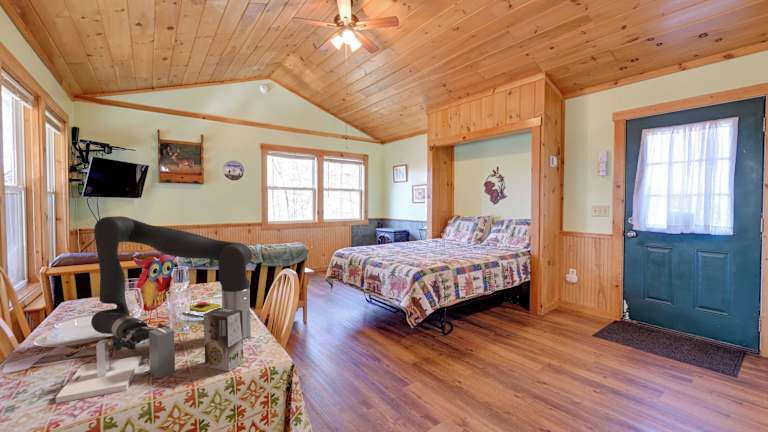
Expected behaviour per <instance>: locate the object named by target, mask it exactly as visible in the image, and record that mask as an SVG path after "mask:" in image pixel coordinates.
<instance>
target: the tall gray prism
mask: <svg viewBox="0 0 768 432" xmlns="http://www.w3.org/2000/svg"><path fill="white" fill-rule="evenodd" d="M148 343H149V348H148V349H149V350H148V351H149V372H150V374H151V375H153V376H155V377H156V378H157V379H161V378H165V377H166V376H170V375H171V374H174V373H176V356H175V355H176V353H175V352H176V350H175V330H173V329H171V328H170V327H169V328H167V327H162V328H157V329H155V330H151V331H149V340H148Z"/></svg>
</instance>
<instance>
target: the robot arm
mask: <svg viewBox="0 0 768 432" xmlns="http://www.w3.org/2000/svg"><path fill="white" fill-rule="evenodd" d="M93 234H94V239H95V240H94V241H95V248H96V253H97V258H98V265H99V302H100V303H102V304H108V305H112V304H113V305H117V307H115V308H109V309H104V310H100V311H97V312H96V313H94V314H93V315H92V318H91V323H90V324H91V326H92V329H94V331H95V332H97V333H99V334H100V333H101V334H106V335H112V336H110V346H111V347H112V348H113V349H114V350H115V351H119V350H122V348H123V349H125V350H130V351H133V352H134V351H136V348H137V347H136V345H138V344H139V343H142V342H143V341H149V331H151V330H155V329H157V328H162V327H167V328H169V329H170V326H167V325H165V324H162V323H159V324H157V326H156V327H151V326H149V325H148V324H147V322H145V321H143V320H141V319H139V318H138V317H135V316H131V313H130V310H129V308H128V304H127V301H126V275H125V272H124V269H123V267H122V265H121V262H120V260H119V259H120V258H119V254H118V253H119V244H120V243H134V244H142V245H145V246H149V248H150V247H151V248H152V249H154V250H155V251H157V252H160V253H161V254H165V255H168V256H173V257H177V258H184V259H201V260H202V259H203V260H204V259H205V260H206V259H208V260H213V261H218V263H217V264H218V266H217V267H218V280H219V284H220V285H221V308H227V309H235V310H242V317H243V339H245V338H250V337H251V335H252V333H251V332H252V331H251V329H252V328H251V306H250V305H251V304H250V303H251V301H250V300H251V299H250V297H251V296H250V295H251V294H250V293H251V291H250V287H251V286H250V285H251V283H250V280H249V279H248V277H247V265H249V264H250V263H251V261H252V259H253V251H252V249H251V248H250V247H249V246H248V245H246V244H245V243H242V242H234V241H233V242H232V241H225V240H218V239H215V238H210V237H208V236H207V237H206V236H205V235H200V234H196V233H192V232H189V231H186V230H179V229H176V228H170V227H164V226H158V225H152V224H147V223H145V222H143V221H138V220H136V219H133V218H130V217H127V216H119V215H118V216H106V217H105V216H104V217H102V218H99V220H97V222H96V223H95V226H94V229H93Z"/></svg>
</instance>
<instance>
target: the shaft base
mask: <svg viewBox="0 0 768 432" xmlns="http://www.w3.org/2000/svg"><path fill="white" fill-rule="evenodd" d="M141 362H142V355H137V356H131V357H125V358H118V359H111V360H110V359H109V372H108V373H107V375H106V376H104V377H98V378H97V362H93V363H92V362H90V363H85V364H82V365H81V366H80V368H79V369H78V370H77V371H76V373H75V374H74V375H73V376H72V377H71V378H70V379H69V381H68V382H67V383H66V384H65V385H64V387H63V388H62V389H61V390H60V391H59V392H58V394H57V395H56V396H55V404H59V403H65V402H70V401H71V402H72V401H75V400H81V399H86V398H92V397H98V396H103V395H107V394H108V395H109V394H114V393H118V392H124V391H125V392H126V391H127V390H128V388H129V386H130V384H131V382H132V380H133V378H134V376H135V374H136V372H137V370H138V368H139V366H140V364H141Z"/></svg>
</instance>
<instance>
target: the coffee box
mask: <svg viewBox="0 0 768 432" xmlns="http://www.w3.org/2000/svg"><path fill="white" fill-rule="evenodd" d="M203 315H204V317H203V337H204V342H203V343H204V367H205V368H209V369H215V370H219V371H225V372H230V371H232V370H233V368H234V369H235V368H237V367H239V366H240V365H242V364H243V363H244V338H243V317H242V310H235V309H227V308H222V307H221V308H217V309H214V310H212V311H210V312H208V313H205V314H203ZM241 363H242V364H241ZM238 365H239V366H238Z"/></svg>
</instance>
